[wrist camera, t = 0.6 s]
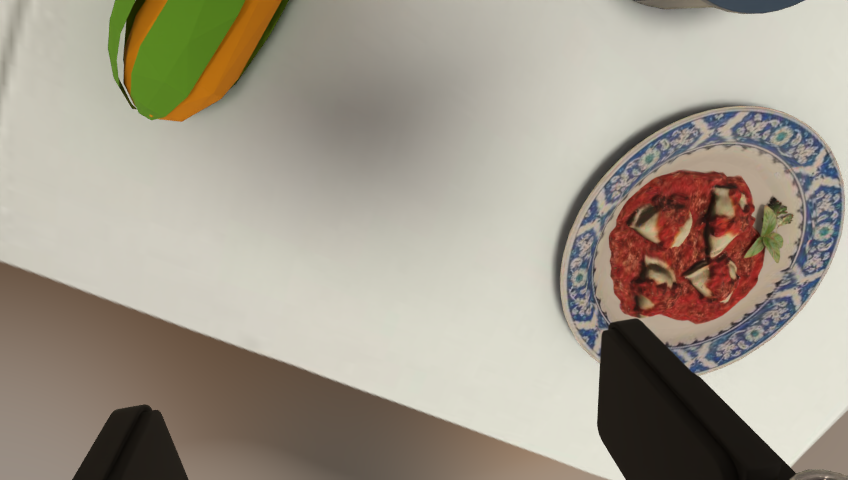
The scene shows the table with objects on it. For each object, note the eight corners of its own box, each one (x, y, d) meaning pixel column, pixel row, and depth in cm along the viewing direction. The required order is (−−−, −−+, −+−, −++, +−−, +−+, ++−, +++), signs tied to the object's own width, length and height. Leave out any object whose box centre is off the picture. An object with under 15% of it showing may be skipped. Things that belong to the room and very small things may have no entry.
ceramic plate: (538, 378, 49) (550, 399, 46) (568, 106, 39) (585, 112, 36) (778, 354, 52) (802, 373, 50) (863, 98, 42) (899, 103, 39)
